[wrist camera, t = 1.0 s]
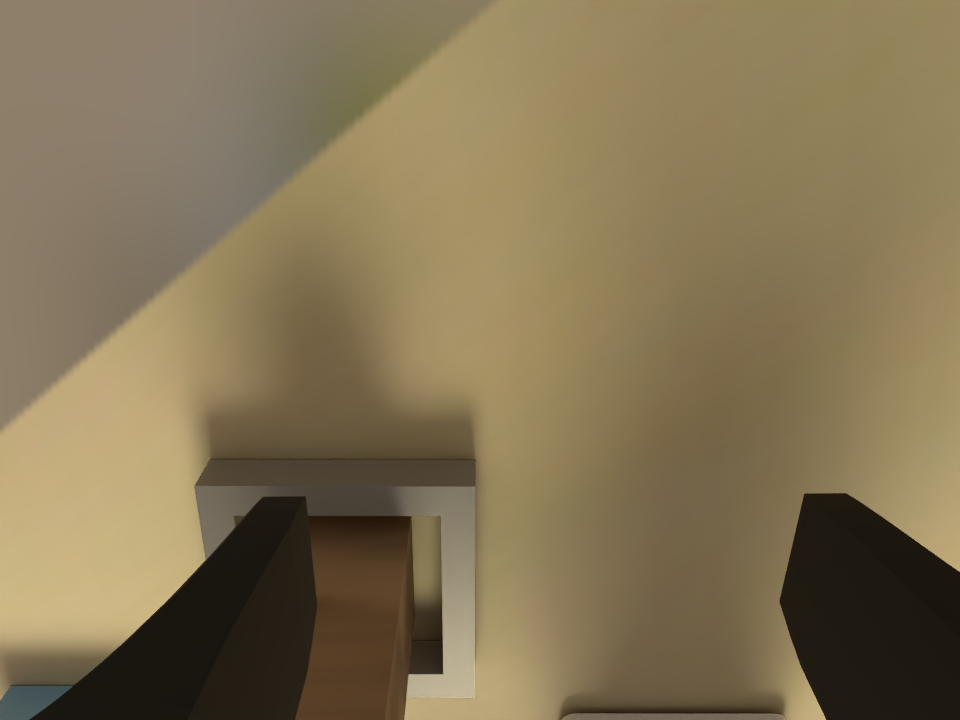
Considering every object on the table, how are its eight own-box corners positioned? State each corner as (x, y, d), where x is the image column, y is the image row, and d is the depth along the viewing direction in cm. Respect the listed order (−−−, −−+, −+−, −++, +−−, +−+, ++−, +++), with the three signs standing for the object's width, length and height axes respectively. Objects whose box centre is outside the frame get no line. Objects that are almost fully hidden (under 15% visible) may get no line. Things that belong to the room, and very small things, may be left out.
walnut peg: (414, 616, 27) (391, 844, 19) (294, 616, 27) (224, 844, 19) (411, 514, 25) (384, 720, 18) (283, 514, 25) (203, 720, 18)
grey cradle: (474, 663, 28) (474, 698, 26) (240, 663, 28) (227, 697, 26) (475, 460, 24) (475, 486, 23) (210, 459, 24) (194, 485, 23)
